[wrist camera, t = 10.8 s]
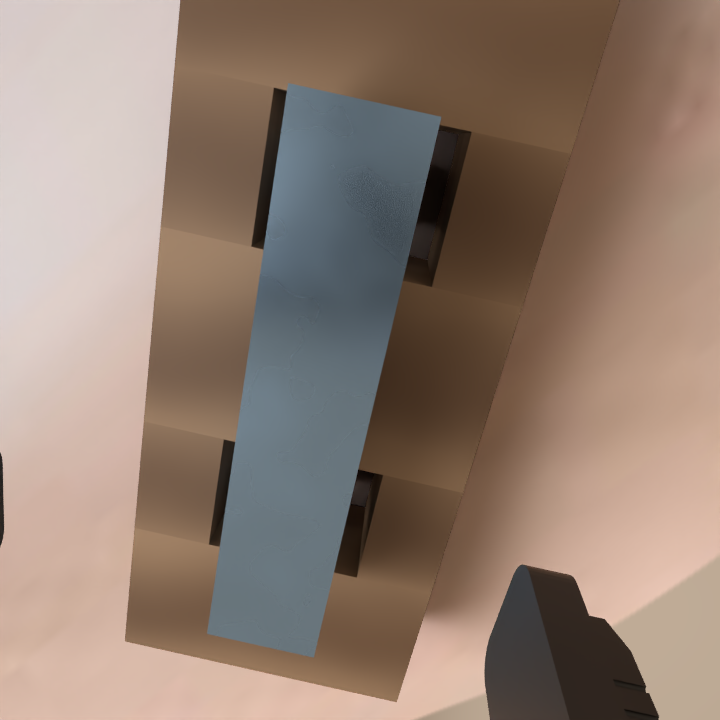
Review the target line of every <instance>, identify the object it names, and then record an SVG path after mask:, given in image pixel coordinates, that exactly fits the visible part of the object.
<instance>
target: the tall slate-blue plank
mask: <svg viewBox="0 0 720 720" xmlns="http://www.w3.org/2000/svg"><path fill="white" fill-rule="evenodd" d="M440 121H441V117H440V116H435V115H431V114H426V113H422V112H417V111H413V110H408V109H404V108H399V107H394V106H390V105H385V104H381V103H376V102H372V101H367V100H363V99H358V98H354V97H349V96H345V95H340V94H335V93H331V92H326V91H322V90H317V89H313V88H308V87H304V86H299V85H295V84H290V83H288V87H287V94H286V101H285V108H284V114H283V121H282V128H281V135H280V142H279V148H278V155H277V162H276V169H275V176H274V182H273V189H272V196H271V203H270V210H269V216H268V223H267V230H266V237H265V243H264V250H263V257H262V264H261V271H260V277H259V284H258V291H257V298H256V305H255V311H254V318H253V325H252V332H251V339H250V345H249V352H248V359H247V366H246V372H245V379H244V386H243V393H242V400H241V406H240V413H239V420H238V427H237V434H236V440H235V447H234V454H233V461H232V468H231V474H230V481H229V488H228V495H227V501H226V508H225V515H224V522H223V529H222V535H221V542H220V549H219V556H218V563H217V569H216V576H215V583H214V590H213V597H212V603H211V610H210V617H209V624H208V630H207V634H210V635H214V636H219V637H223V638H228V639H232V640H237V641H241V642H246V643H250V644H255V645H259V646H264V647H268V648H273V649H277V650H282V651H286V652H291V653H295V654H300V655H304V656H309V657H313V658H314V655H315V650H316V646H317V642H318V638H319V633H320V629H321V625H322V621H323V616H324V612H325V608H326V604H327V600H328V595H329V591H330V587H331V583H332V578H333V574H334V570H335V566H336V561H337V557H338V553H339V549H340V545H341V540H342V536H343V532H344V528H345V523H346V519H347V515H348V511H349V506H350V502H351V498H352V494H353V489H354V485H355V481H356V477H357V473H358V468H359V464H360V460H361V456H362V451H363V447H364V443H365V439H366V434H367V430H368V426H369V422H370V417H371V413H372V409H373V405H374V401H375V396H376V392H377V388H378V384H379V379H380V375H381V371H382V367H383V362H384V358H385V354H386V350H387V346H388V341H389V337H390V333H391V329H392V324H393V320H394V316H395V312H396V307H397V303H398V299H399V295H400V290H401V286H402V282H403V278H404V274H405V269H406V265H407V261H408V257H409V252H410V248H411V244H412V240H413V235H414V231H415V227H416V223H417V218H418V214H419V210H420V206H421V202H422V197H423V193H424V189H425V185H426V180H427V176H428V172H429V168H430V163H431V159H432V155H433V151H434V146H435V142H436V138H437V134H438V130H439V125H440Z"/></svg>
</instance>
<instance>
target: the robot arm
mask: <svg viewBox="0 0 720 720" xmlns="http://www.w3.org/2000/svg"><path fill="white" fill-rule="evenodd" d="M3 534H4V505H3V463H2V456H1V453H0V546H1V543H2V539H3ZM485 687H486V694H487V700H488V708H489V715H490V720H658V718H659V715H658V713H657V711H656V708H655V706H654V704H653V701H652V699H651V697H650V694H649V693H646V691H645V688H646V685H645V683H644V681H643V678H642V676H641V674H640V671H639V669H638V667H637V664H636V662H635V660H634V657H633V655H632V653H631V651H630V650H629V648H628V647H627V646H626V645H625V643H624V642H623V641H622V640H621V639H620V637H619V636H618V635H617V634H616V633H615V631H614V630H613V629H612V628H611V626H610V625H609V624H608V623H607V622H606V620H605V619H602V618H597V617H593V616H589V614H588V612H587V609H586V606H585V604H584V601H583V598H582V596H581V593H580V590H579V588H578V585H577V583H576V581H575V579H574V578H573V577H572V576H571V575H567V574H563V573H558V572H554V571H549V570H545V569H540V568H535V567H531V566H526V565H520V566H519V567H518V568H517V569H516V571H515V573H514V575H513V578H512V580H511V583H510V586H509V588H508V591H507V594H506V596H505V599H504V601H503V604H502V607H501V609H500V612H499V615H498V617H497V620H496V622H495V625H494V628H493V630H492V633H491V636H490V638H489V642H488V646H487V651H486V658H485Z"/></svg>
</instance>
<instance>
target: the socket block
mask: <svg viewBox="0 0 720 720" xmlns="http://www.w3.org/2000/svg"><path fill="white" fill-rule="evenodd" d="M619 2H620V0H180V12H179V23H178V35H177V46H176V58H175V69H174V81H173V92H172V104H171V115H170V127H169V139H168V150H167V162H166V173H165V185H164V196H163V208H162V219H161V231H160V242H159V254H158V265H157V277H156V288H155V300H154V312H153V323H152V335H151V346H150V358H149V369H148V381H147V392H146V404H145V415H144V427H143V438H142V450H141V461H140V473H139V484H138V496H137V508H136V519H135V531H134V542H133V554H132V565H131V577H130V588H129V600H128V611H127V623H126V634H125V641H126V642H131V643H135V644H140V645H144V646H149V647H153V648H157V649H162V650H166V651H171V652H175V653H180V654H184V655H189V656H193V657H198V658H202V659H207V660H211V661H215V662H220V663H224V664H229V665H233V666H238V667H242V668H247V669H251V670H256V671H260V672H264V673H269V674H273V675H278V676H282V677H287V678H291V679H296V680H300V681H305V682H309V683H314V684H318V685H322V686H327V687H331V688H336V689H340V690H345V691H349V692H354V693H358V694H363V695H367V696H372V697H376V698H380V699H385V700H389V701H394V702H397V699H398V696H399V693H400V690H401V687H402V683H403V680H404V677H405V674H406V671H407V668H408V665H409V661H410V658H411V655H412V652H413V649H414V646H415V643H416V639H417V636H418V633H419V630H420V627H421V624H422V621H423V617H424V614H425V611H426V608H427V605H428V602H429V599H430V595H431V592H432V589H433V586H434V583H435V580H436V577H437V573H438V570H439V567H440V564H441V561H442V558H443V555H444V551H445V548H446V545H447V542H448V539H449V536H450V533H451V529H452V526H453V523H454V520H455V517H456V514H457V511H458V507H459V504H460V501H461V498H462V495H463V492H464V489H465V486H466V482H467V479H468V476H469V473H470V470H471V467H472V464H473V460H474V457H475V454H476V451H477V448H478V445H479V442H480V438H481V435H482V432H483V429H484V426H485V423H486V420H487V416H488V413H489V410H490V407H491V404H492V401H493V398H494V394H495V391H496V388H497V385H498V382H499V379H500V376H501V372H502V369H503V366H504V363H505V360H506V357H507V354H508V350H509V347H510V344H511V341H512V338H513V335H514V332H515V328H516V325H517V322H518V319H519V316H520V313H521V310H522V306H523V303H524V300H525V297H526V294H527V291H528V288H529V285H530V281H531V278H532V275H533V272H534V269H535V266H536V263H537V259H538V256H539V253H540V250H541V247H542V244H543V241H544V237H545V234H546V231H547V228H548V225H549V222H550V219H551V215H552V212H553V209H554V206H555V203H556V200H557V197H558V193H559V190H560V187H561V184H562V181H563V178H564V175H565V171H566V168H567V165H568V162H569V159H570V156H571V153H572V149H573V146H574V143H575V140H576V137H577V134H578V131H579V127H580V124H581V121H582V118H583V115H584V112H585V109H586V105H587V102H588V99H589V96H590V93H591V90H592V87H593V84H594V80H595V77H596V74H597V71H598V68H599V65H600V62H601V58H602V55H603V52H604V49H605V46H606V43H607V40H608V36H609V33H610V30H611V27H612V24H613V21H614V18H615V14H616V11H617V8H618V5H619ZM288 83H290V84H295V85H299V86H304V87H308V88H313V89H317V90H322V91H326V92H331V93H335V94H340V95H345V96H349V97H354V98H358V99H363V100H367V101H372V102H376V103H381V104H385V105H390V106H394V107H399V108H404V109H408V110H413V111H417V112H422V113H426V114H431V115H435V116H440V117H441V121H440V125H439V130H442V131H446V132H451V133H455V134H459V136H458V140H457V144H456V148H455V152H454V156H453V160H452V164H451V168H450V172H449V176H448V180H447V184H446V188H445V192H444V196H443V200H442V204H441V208H440V212H439V216H438V220H437V224H436V228H435V232H434V236H433V240H432V244H431V248H430V252H429V256H428V260H425V259H421V258H416V257H412V256H409V257H408V261H407V265H406V269H405V274H404V278H403V282H402V286H401V290H400V295H399V299H398V303H397V307H396V312H395V316H394V320H393V324H392V329H391V333H390V337H389V341H388V346H387V350H386V354H385V358H384V362H383V367H382V371H381V375H380V379H379V384H378V388H377V392H376V396H375V401H374V405H373V409H372V413H371V417H370V422H369V426H368V430H367V434H366V439H365V443H364V447H363V451H362V456H361V460H360V464H359V468H358V470H363V471H367V472H372V473H374V475H373V479H372V483H371V487H370V491H369V495H368V498H367V502H366V506H365V508H364V507H360V506H355V505H351V504H350V506H349V511H348V515H347V519H346V523H345V528H344V532H343V536H342V540H341V545H340V549H339V553H338V557H337V561H336V566H335V570H334V574H333V578H332V583H331V587H330V591H329V595H328V600H327V604H326V608H325V612H324V616H323V621H322V625H321V629H320V633H319V638H318V642H317V646H316V650H315V655H314V658H313V657H309V656H304V655H300V654H295V653H291V652H286V651H282V650H277V649H273V648H268V647H264V646H259V645H255V644H250V643H246V642H241V641H237V640H232V639H228V638H223V637H219V636H214V635H210V634H207V630H208V624H209V617H210V610H211V603H212V597H213V590H214V583H215V576H216V569H217V563H218V556H219V549H220V542H221V535H222V529H223V522H224V515H225V508H226V501H227V495H228V488H229V481H230V474H231V468H232V461H233V454H234V447H235V440H236V434H237V427H238V420H239V413H240V406H241V400H242V393H243V386H244V379H245V372H246V366H247V359H248V352H249V345H250V339H251V332H252V325H253V318H254V311H255V305H256V298H257V291H258V284H259V277H260V271H261V264H262V257H263V250H264V243H265V237H266V230H267V223H268V216H269V210H270V203H271V196H272V189H273V182H274V176H275V169H276V162H277V155H278V148H279V142H280V135H281V128H282V121H283V114H284V108H285V101H286V94H287V87H288Z"/></svg>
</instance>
